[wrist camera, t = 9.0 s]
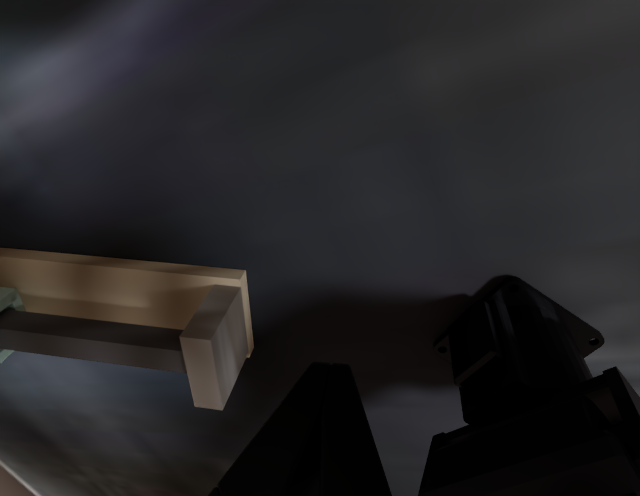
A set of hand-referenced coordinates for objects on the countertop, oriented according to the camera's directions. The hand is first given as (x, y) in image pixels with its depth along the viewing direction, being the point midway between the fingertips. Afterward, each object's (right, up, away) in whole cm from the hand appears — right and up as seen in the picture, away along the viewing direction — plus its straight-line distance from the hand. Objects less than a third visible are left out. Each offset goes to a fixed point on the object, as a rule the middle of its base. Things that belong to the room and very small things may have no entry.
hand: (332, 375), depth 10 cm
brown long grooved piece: (-14, 0, +19) cm, 23 cm away
